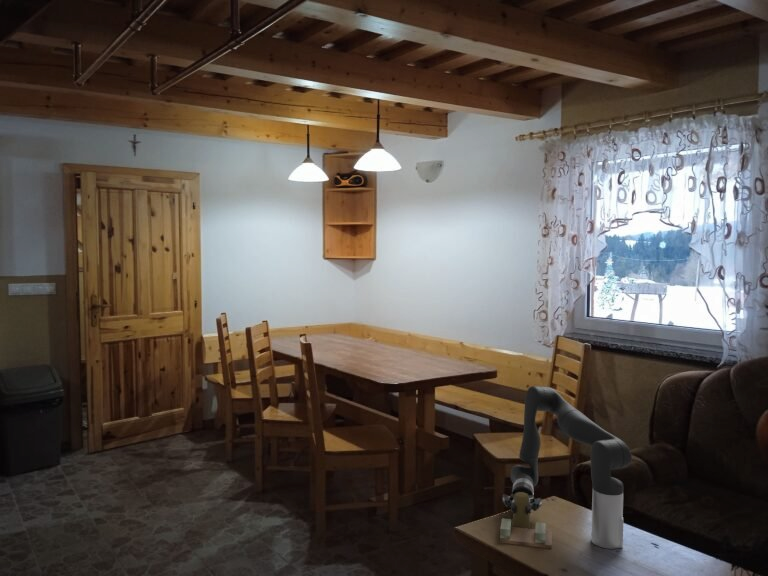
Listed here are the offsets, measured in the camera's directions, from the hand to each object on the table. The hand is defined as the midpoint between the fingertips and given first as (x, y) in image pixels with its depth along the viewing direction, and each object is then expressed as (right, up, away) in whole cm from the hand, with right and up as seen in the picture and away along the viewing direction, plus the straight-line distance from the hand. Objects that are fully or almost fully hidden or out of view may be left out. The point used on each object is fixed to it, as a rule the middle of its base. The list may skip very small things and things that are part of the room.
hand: (521, 511), depth 208 cm
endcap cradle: (-1, -6, -6) cm, 9 cm away
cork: (+1, -6, +3) cm, 7 cm away
